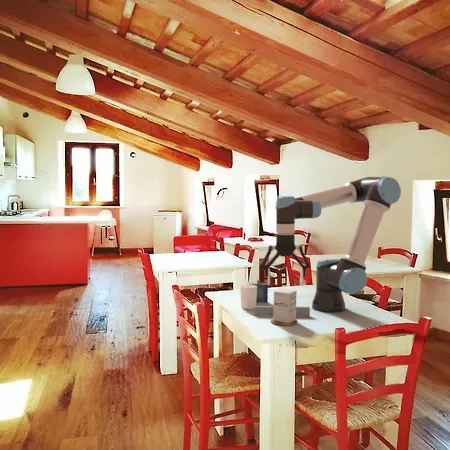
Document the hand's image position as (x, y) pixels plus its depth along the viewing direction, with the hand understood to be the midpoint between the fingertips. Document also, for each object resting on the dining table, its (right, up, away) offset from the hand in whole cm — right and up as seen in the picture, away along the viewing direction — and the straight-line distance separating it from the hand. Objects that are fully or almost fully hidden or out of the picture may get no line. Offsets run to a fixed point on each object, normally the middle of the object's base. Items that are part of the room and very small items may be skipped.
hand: (285, 284), depth 207 cm
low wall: (0, -15, +11) cm, 19 cm away
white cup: (-14, -14, +26) cm, 32 cm away
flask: (-9, -13, +37) cm, 40 cm away
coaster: (0, -16, +1) cm, 16 cm away
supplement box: (0, -15, +1) cm, 15 cm away
